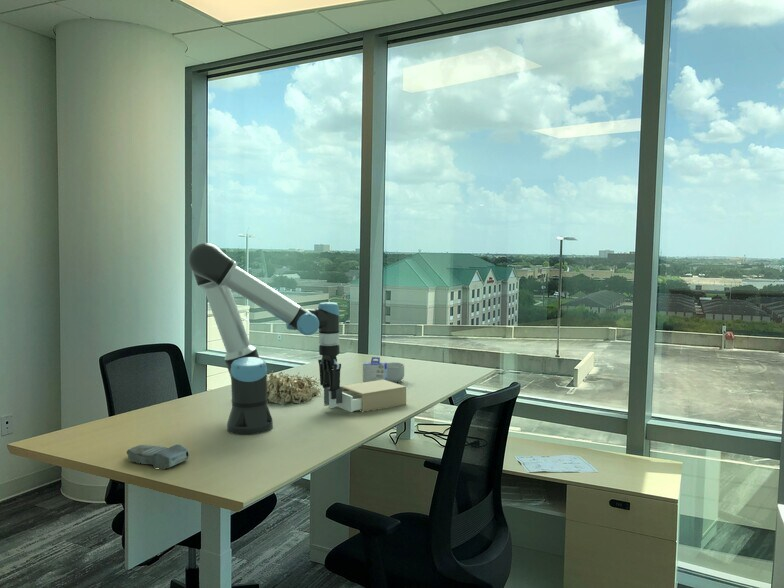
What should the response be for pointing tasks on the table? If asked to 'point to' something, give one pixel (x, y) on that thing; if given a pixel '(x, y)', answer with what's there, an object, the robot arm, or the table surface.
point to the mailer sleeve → (378, 394)
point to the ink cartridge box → (374, 370)
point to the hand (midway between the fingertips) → (330, 406)
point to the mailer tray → (345, 399)
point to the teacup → (395, 372)
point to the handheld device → (158, 455)
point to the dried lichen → (290, 388)
